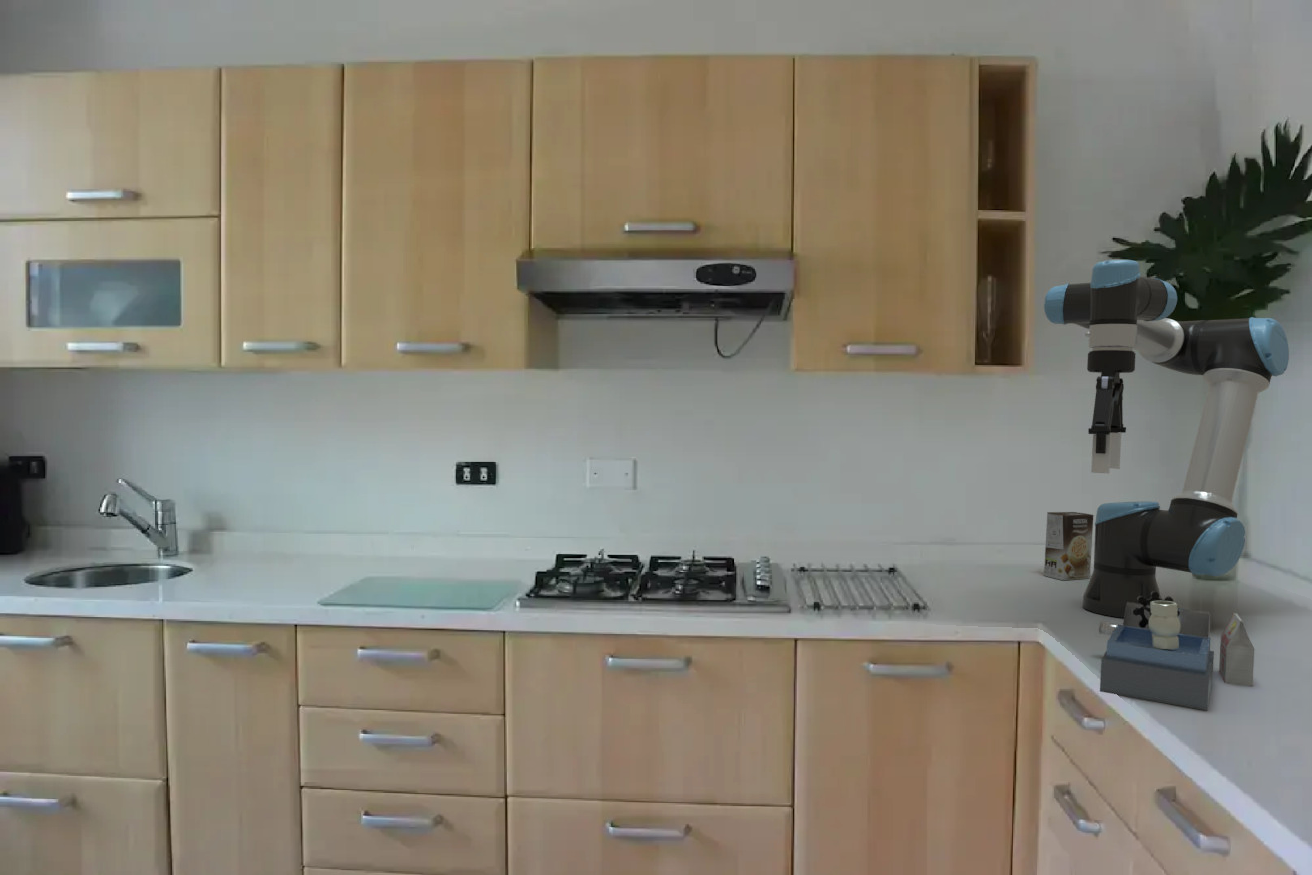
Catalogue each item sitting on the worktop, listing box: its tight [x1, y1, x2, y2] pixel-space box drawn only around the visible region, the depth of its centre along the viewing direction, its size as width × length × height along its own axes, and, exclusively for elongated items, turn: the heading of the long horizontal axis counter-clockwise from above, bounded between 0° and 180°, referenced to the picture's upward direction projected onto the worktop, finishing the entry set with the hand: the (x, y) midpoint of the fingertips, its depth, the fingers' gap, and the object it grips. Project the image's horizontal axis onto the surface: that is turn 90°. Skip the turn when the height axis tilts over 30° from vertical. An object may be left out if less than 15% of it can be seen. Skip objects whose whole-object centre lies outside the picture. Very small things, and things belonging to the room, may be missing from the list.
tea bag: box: [1218, 612, 1255, 687], centre depth 148 cm, size 4×7×10 cm, turn 155°
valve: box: [1132, 591, 1181, 649], centre depth 142 cm, size 7×7×12 cm
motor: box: [1098, 602, 1215, 711], centre depth 147 cm, size 26×17×10 cm, turn 147°
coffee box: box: [1043, 511, 1095, 581], centre depth 229 cm, size 9×6×16 cm
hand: (1105, 470), depth 163 cm, fingers open, 13 cm apart
